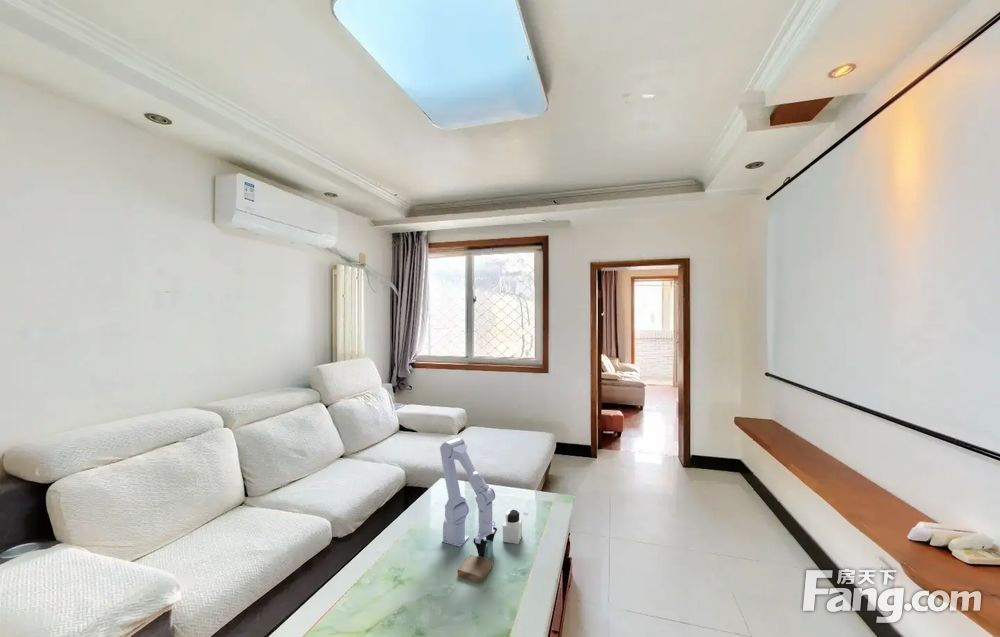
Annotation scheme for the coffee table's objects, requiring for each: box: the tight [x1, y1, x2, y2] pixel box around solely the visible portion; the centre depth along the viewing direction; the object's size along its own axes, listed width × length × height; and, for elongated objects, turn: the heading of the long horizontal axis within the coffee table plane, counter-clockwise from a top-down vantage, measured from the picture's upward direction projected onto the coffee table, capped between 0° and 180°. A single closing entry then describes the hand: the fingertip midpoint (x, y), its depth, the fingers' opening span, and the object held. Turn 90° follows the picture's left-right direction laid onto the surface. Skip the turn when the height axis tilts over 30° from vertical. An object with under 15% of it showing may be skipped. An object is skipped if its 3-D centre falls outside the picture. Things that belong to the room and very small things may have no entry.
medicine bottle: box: [502, 509, 523, 545], centre depth 170 cm, size 7×7×12 cm
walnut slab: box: [457, 554, 493, 584], centre depth 148 cm, size 10×10×3 cm
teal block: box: [477, 538, 494, 560], centre depth 159 cm, size 4×4×5 cm
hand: (485, 551), depth 159 cm, fingers open, 7 cm apart
